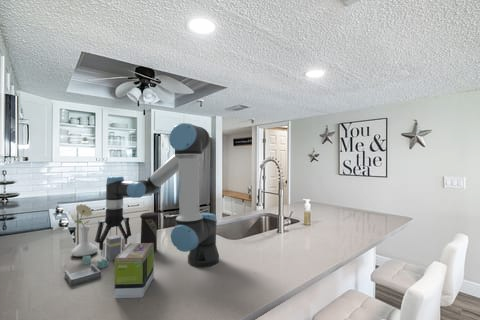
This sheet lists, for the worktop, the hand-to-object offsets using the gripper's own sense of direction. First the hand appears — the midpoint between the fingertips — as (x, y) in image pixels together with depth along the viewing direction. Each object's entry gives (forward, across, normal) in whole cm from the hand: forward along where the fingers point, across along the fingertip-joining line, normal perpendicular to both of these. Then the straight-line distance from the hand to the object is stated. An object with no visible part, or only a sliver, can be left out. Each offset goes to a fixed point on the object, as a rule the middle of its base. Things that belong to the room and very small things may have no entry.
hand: (113, 253), depth 120 cm
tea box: (+2, +4, +35) cm, 35 cm away
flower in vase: (+2, +9, -14) cm, 17 cm away
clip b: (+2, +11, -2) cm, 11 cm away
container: (+2, -17, +3) cm, 17 cm away
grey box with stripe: (+2, 0, 0) cm, 2 cm away
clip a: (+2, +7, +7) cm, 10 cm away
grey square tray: (+2, +16, +12) cm, 20 cm away
